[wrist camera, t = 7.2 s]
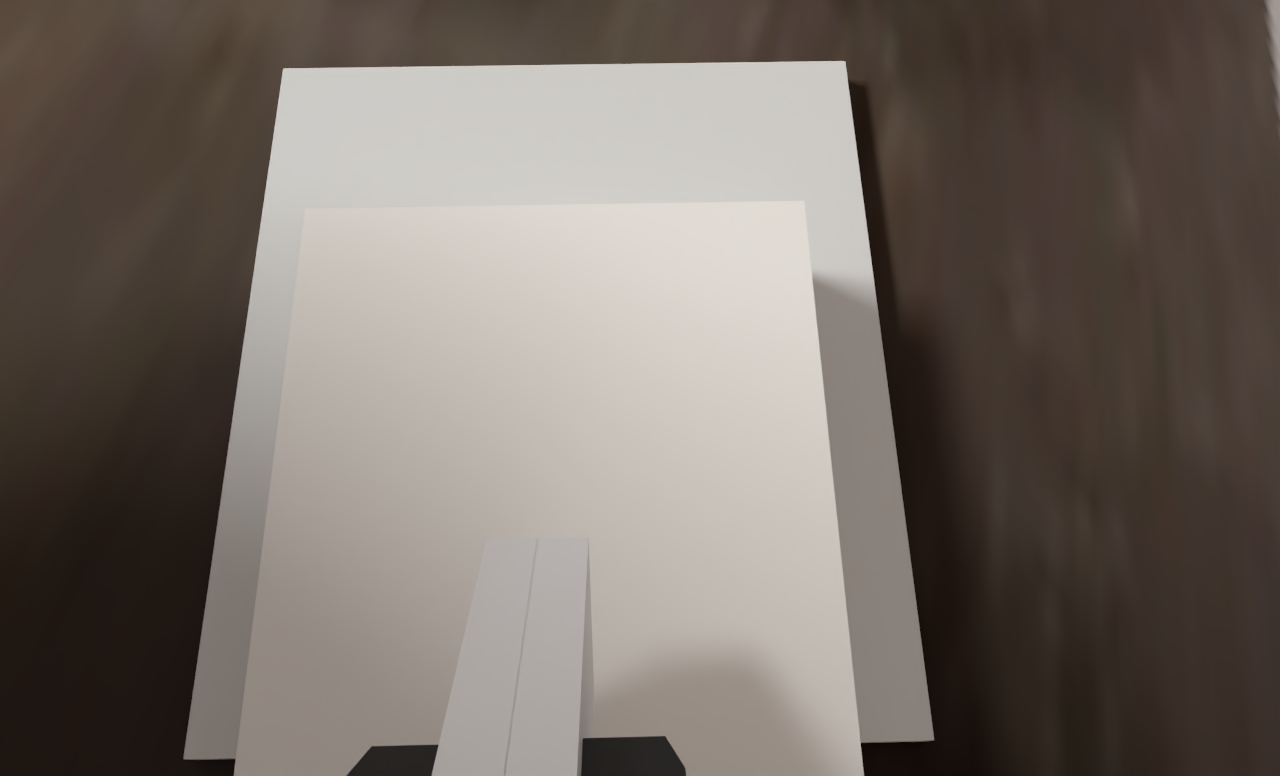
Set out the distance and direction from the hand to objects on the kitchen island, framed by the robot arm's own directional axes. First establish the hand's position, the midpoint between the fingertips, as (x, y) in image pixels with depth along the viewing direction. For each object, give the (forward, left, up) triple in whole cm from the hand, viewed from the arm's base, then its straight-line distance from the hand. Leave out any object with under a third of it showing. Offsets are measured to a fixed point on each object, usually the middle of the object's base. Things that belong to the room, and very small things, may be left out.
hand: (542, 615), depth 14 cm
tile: (+3, -2, -3) cm, 5 cm away
